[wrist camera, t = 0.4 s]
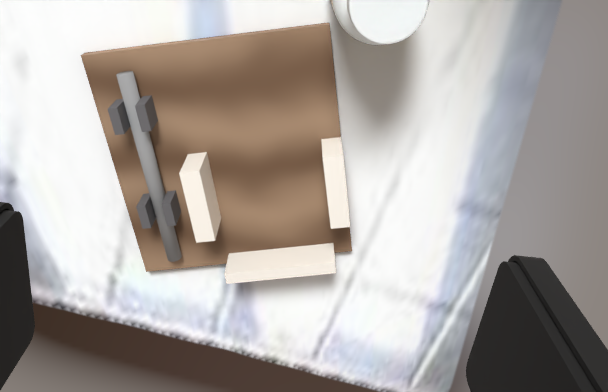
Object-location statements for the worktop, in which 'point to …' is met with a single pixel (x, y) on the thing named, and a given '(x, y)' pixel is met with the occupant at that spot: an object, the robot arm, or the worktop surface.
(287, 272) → the holder
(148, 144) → the cable run
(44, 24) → the worktop surface
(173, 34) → the worktop surface
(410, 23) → the supplement bottle
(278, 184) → the board
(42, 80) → the worktop surface
